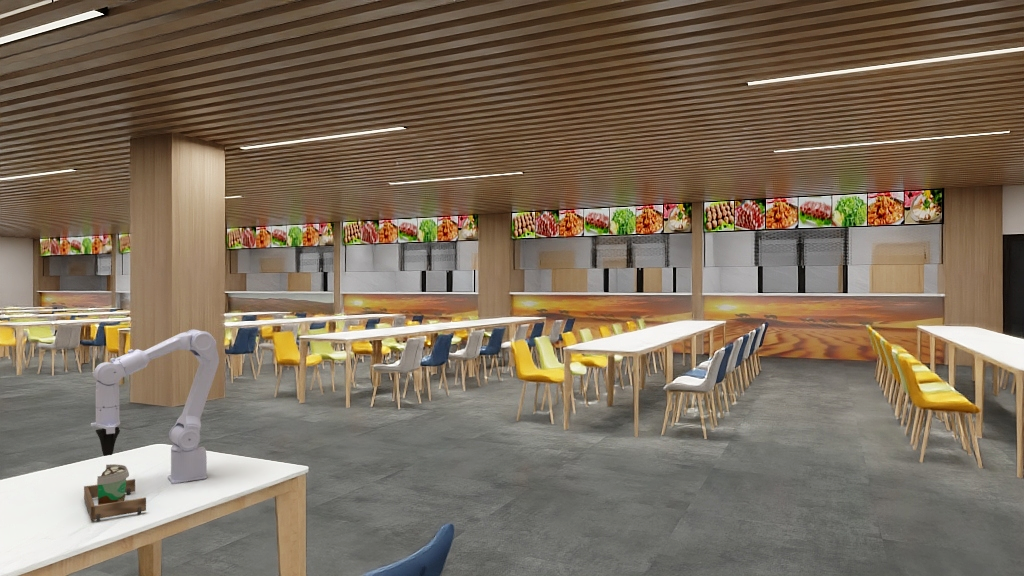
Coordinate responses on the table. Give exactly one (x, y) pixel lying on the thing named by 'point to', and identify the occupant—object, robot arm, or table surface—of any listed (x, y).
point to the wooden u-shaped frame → (115, 507)
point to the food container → (112, 484)
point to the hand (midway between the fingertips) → (107, 454)
